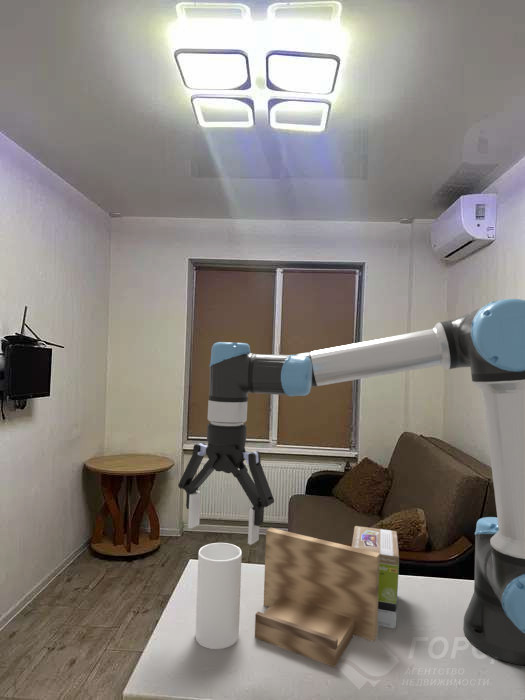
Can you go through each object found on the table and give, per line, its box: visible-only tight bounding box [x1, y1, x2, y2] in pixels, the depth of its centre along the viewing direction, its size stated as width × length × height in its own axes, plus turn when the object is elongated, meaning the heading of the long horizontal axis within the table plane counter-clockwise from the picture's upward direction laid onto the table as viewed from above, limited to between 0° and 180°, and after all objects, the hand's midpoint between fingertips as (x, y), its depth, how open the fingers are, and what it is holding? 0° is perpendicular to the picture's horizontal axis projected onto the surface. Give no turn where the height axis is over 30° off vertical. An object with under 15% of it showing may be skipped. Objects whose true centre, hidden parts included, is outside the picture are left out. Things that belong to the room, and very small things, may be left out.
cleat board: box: [254, 527, 380, 668], centre depth 89 cm, size 24×13×16 cm, turn 62°
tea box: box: [351, 525, 400, 629], centre depth 100 cm, size 15×10×15 cm, turn 166°
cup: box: [194, 542, 243, 650], centre depth 88 cm, size 8×8×16 cm
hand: (222, 534), depth 88 cm, fingers open, 13 cm apart
